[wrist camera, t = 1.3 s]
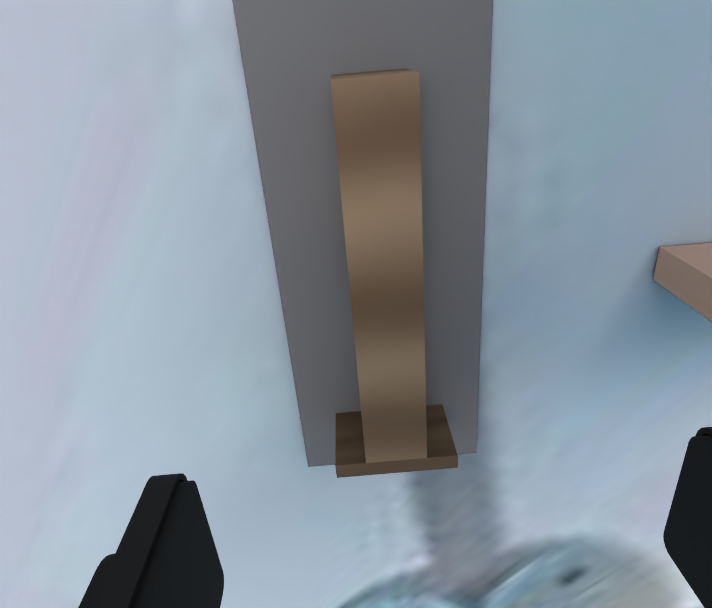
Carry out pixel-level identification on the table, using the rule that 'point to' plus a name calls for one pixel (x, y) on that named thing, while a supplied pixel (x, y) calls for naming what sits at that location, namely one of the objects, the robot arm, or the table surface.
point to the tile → (687, 274)
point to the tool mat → (323, 195)
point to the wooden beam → (385, 277)
